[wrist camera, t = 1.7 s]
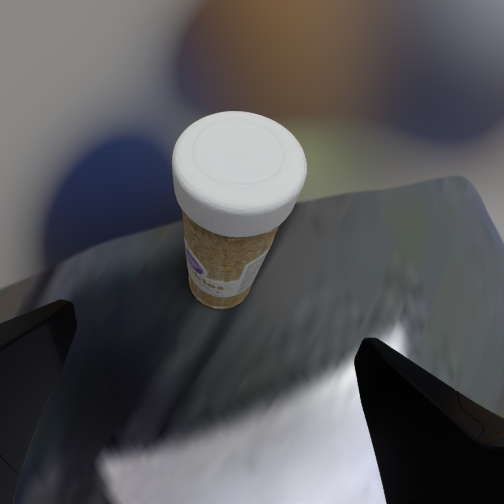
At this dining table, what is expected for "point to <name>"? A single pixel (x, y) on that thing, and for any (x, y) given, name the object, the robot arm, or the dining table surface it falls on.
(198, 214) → the sprinkles bottle
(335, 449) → the dining table surface
